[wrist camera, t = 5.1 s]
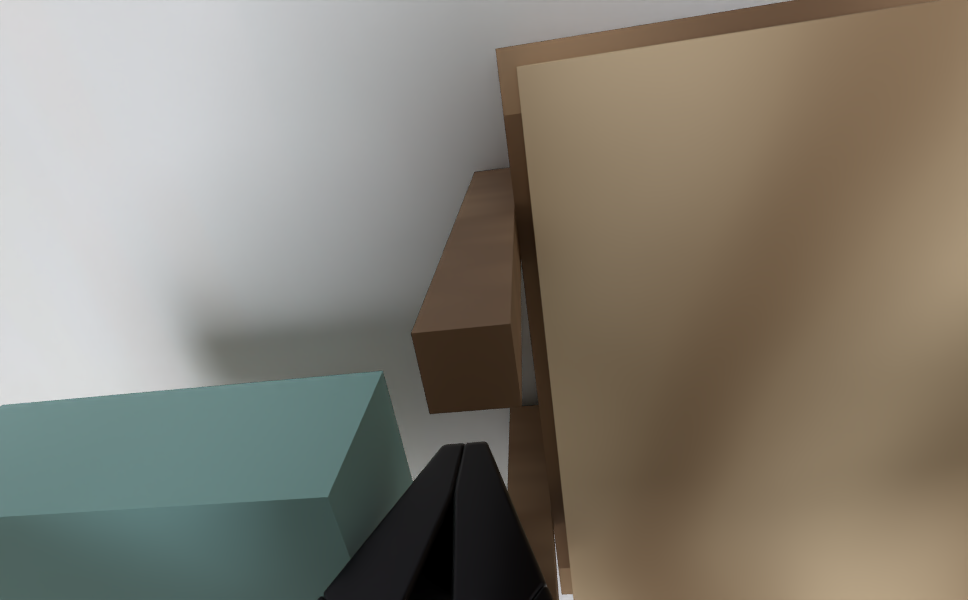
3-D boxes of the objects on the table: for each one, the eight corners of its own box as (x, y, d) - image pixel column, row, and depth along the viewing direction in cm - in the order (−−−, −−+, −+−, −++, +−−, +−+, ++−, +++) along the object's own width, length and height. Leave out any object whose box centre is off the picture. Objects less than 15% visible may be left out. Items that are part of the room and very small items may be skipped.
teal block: (382, 370, 9) (328, 497, 7) (415, 491, 11) (379, 638, 8) (2, 405, 10) (-181, 527, 8) (73, 512, 12) (-63, 650, 9)
